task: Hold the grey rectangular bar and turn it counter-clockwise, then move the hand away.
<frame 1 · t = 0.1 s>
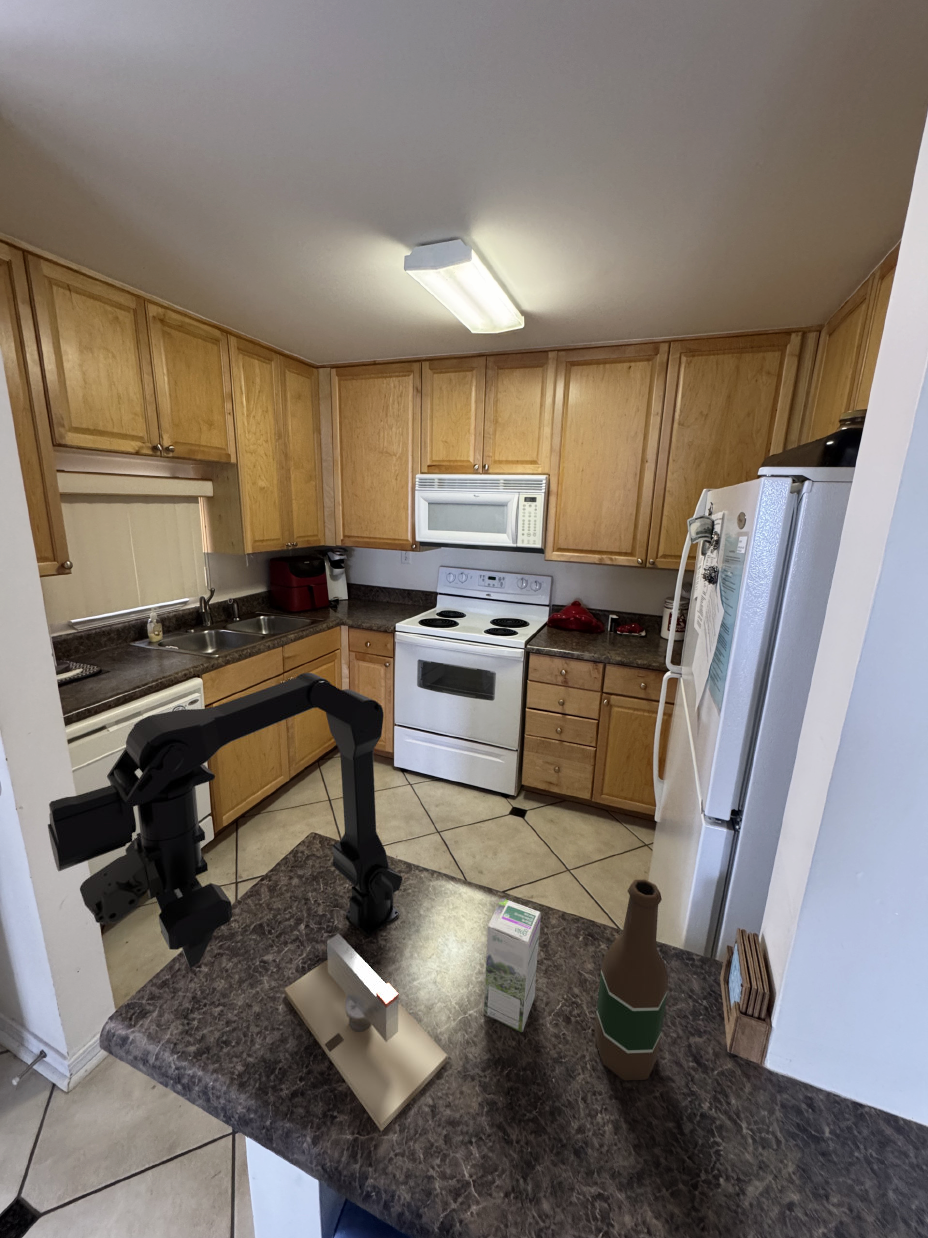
hand: (181, 940, 60), 15 cm above the countertop, fingers open, 9 cm apart
post board: (361, 1026, 65), on the countertop
beer bottle: (624, 1052, 63), on the countertop
grey rectangular bar: (360, 985, 64), point 7 cm above the countertop, hinge at 0.0°
syrup box: (509, 1008, 68), on the countertop
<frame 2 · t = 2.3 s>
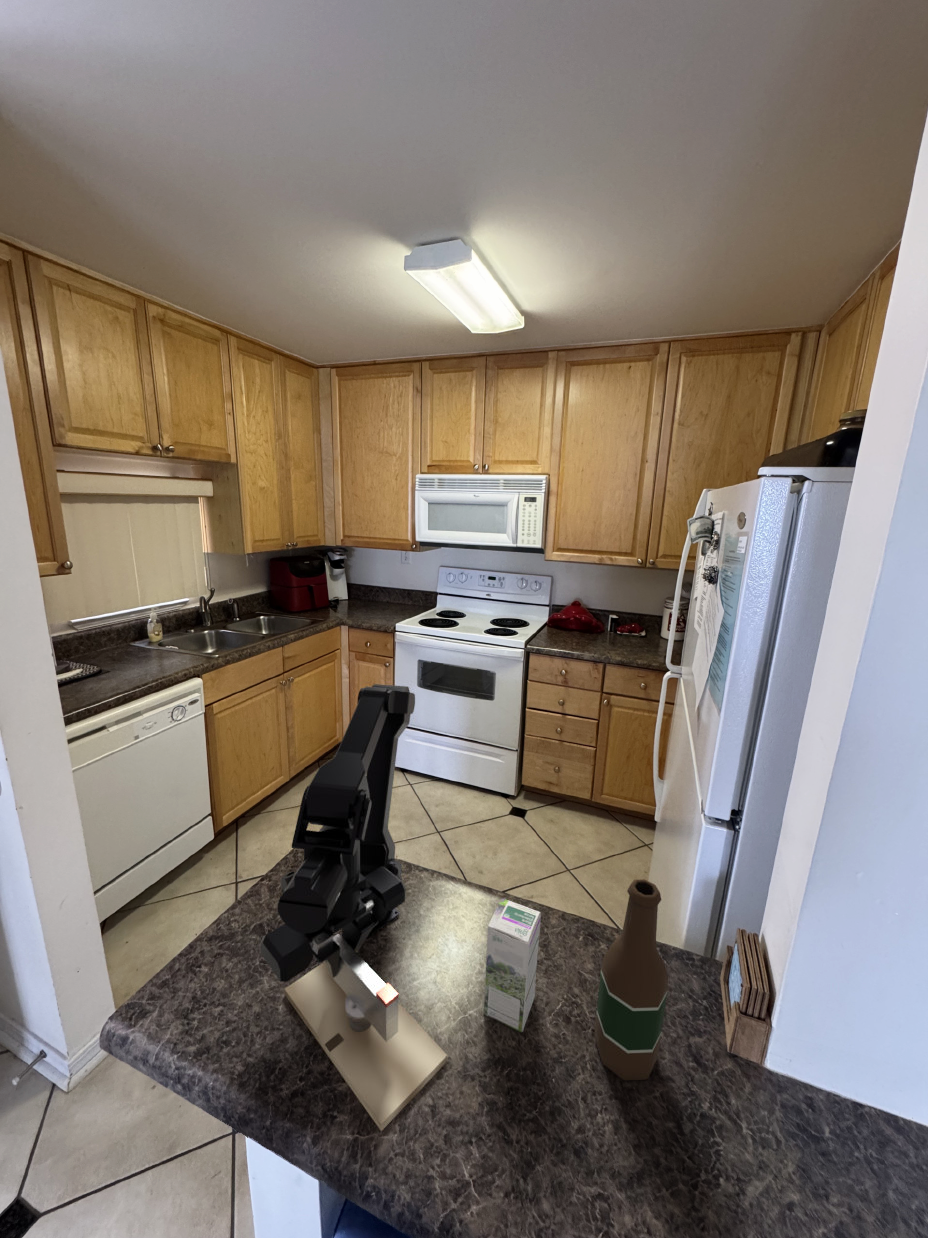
hand: (339, 970, 67), 5 cm above the countertop, fingers closed on grey rectangular bar, 2 cm apart
grey rectangular bar: (360, 985, 64), point 7 cm above the countertop, hinge at 0.0°, touching gripper
everything else where it was.
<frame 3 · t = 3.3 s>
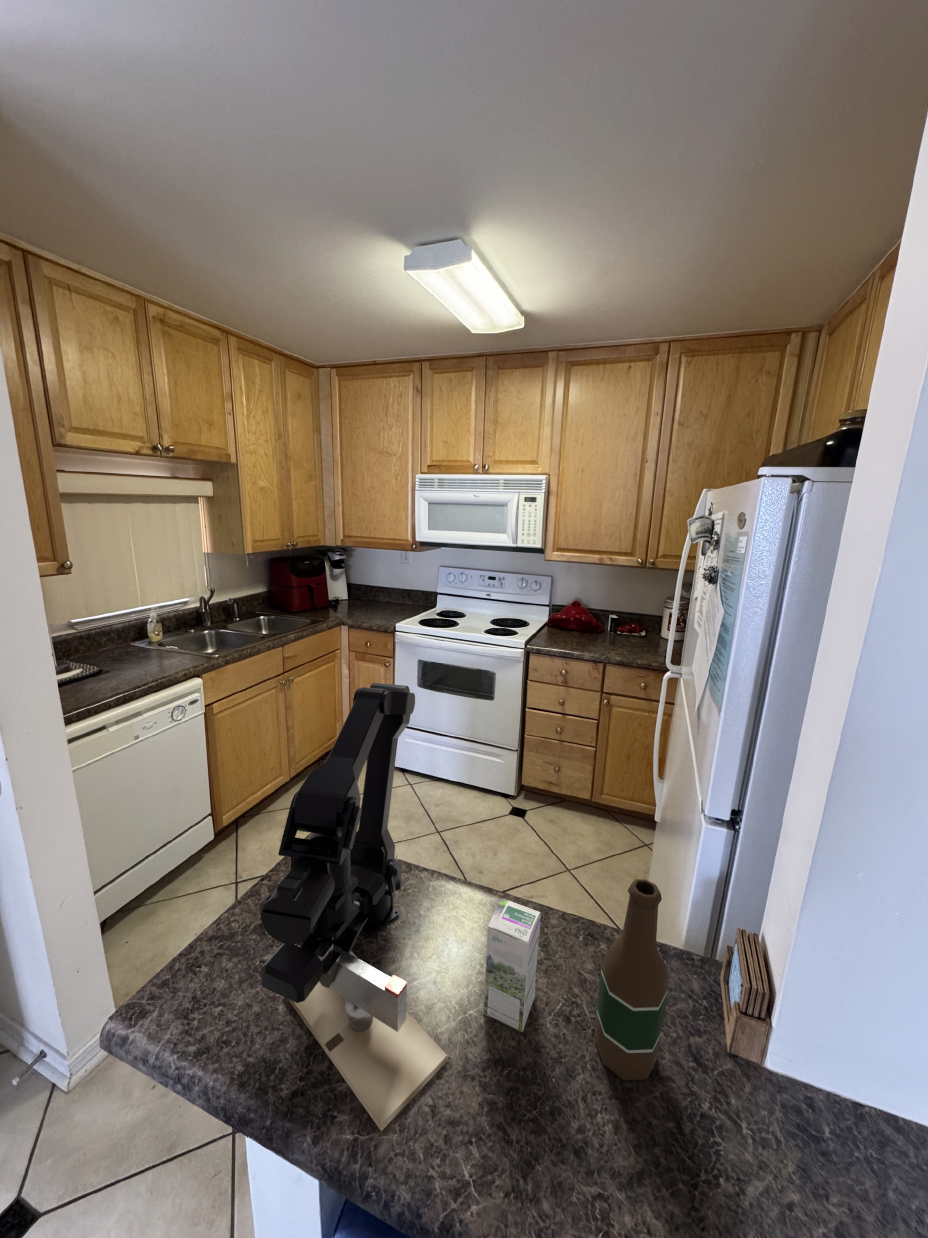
hand: (331, 978, 66), 5 cm above the countertop, fingers closed
grey rectangular bar: (360, 985, 64), point 7 cm above the countertop, hinge at 15.1°, touching gripper
everything else where it was.
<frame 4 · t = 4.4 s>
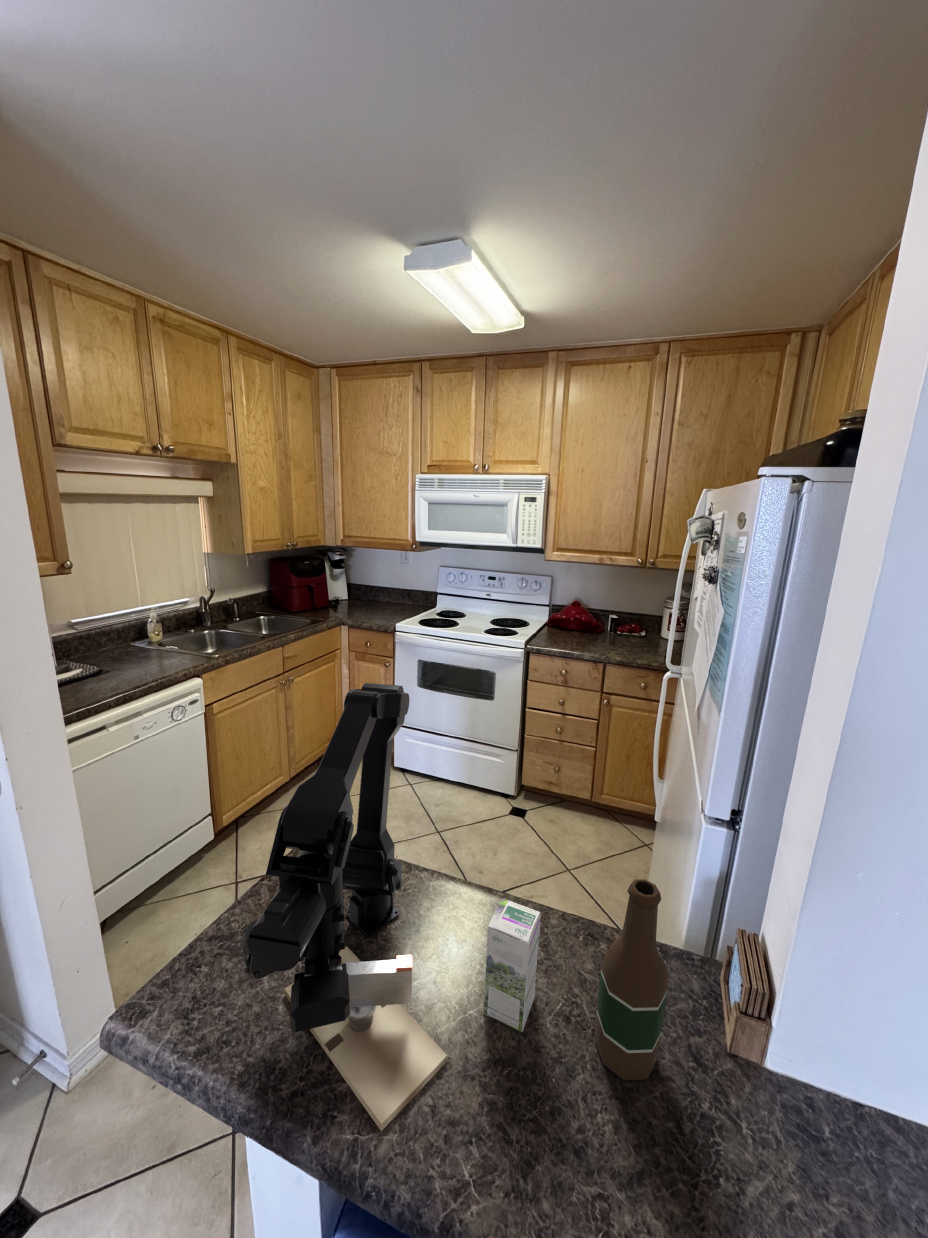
hand: (322, 999, 63), 5 cm above the countertop, fingers closed
grey rectangular bar: (360, 985, 64), point 7 cm above the countertop, hinge at 49.7°, touching gripper
everything else where it was.
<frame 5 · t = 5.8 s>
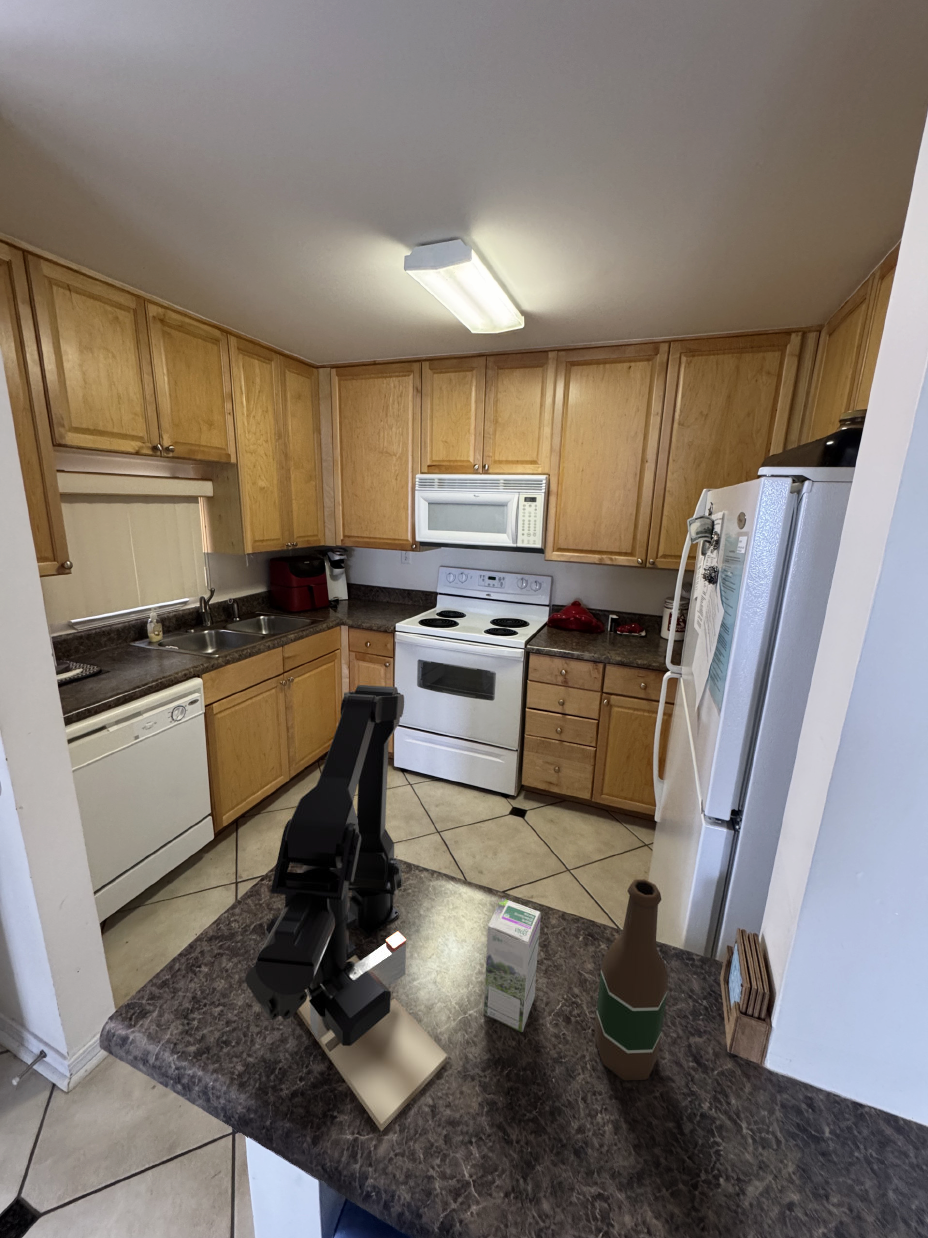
hand: (325, 1021, 61), 5 cm above the countertop, fingers closed on grey rectangular bar, 2 cm apart
grey rectangular bar: (360, 985, 64), point 6 cm above the countertop, hinge at 87.7°, touching gripper
everything else where it was.
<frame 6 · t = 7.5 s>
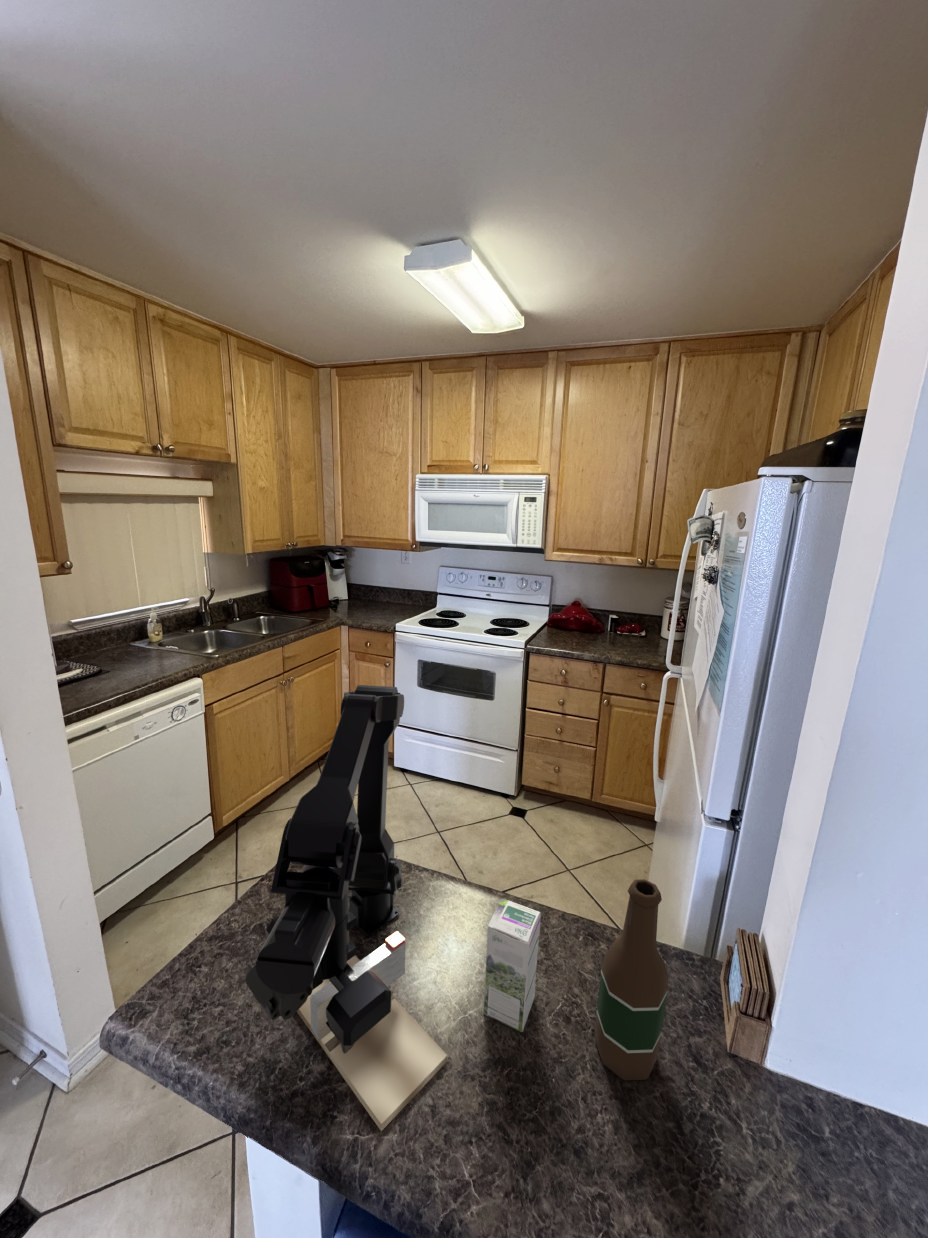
hand: (326, 1021, 60), 5 cm above the countertop, fingers open, 9 cm apart
grey rectangular bar: (360, 985, 64), point 7 cm above the countertop, hinge at 89.0°
everything else where it was.
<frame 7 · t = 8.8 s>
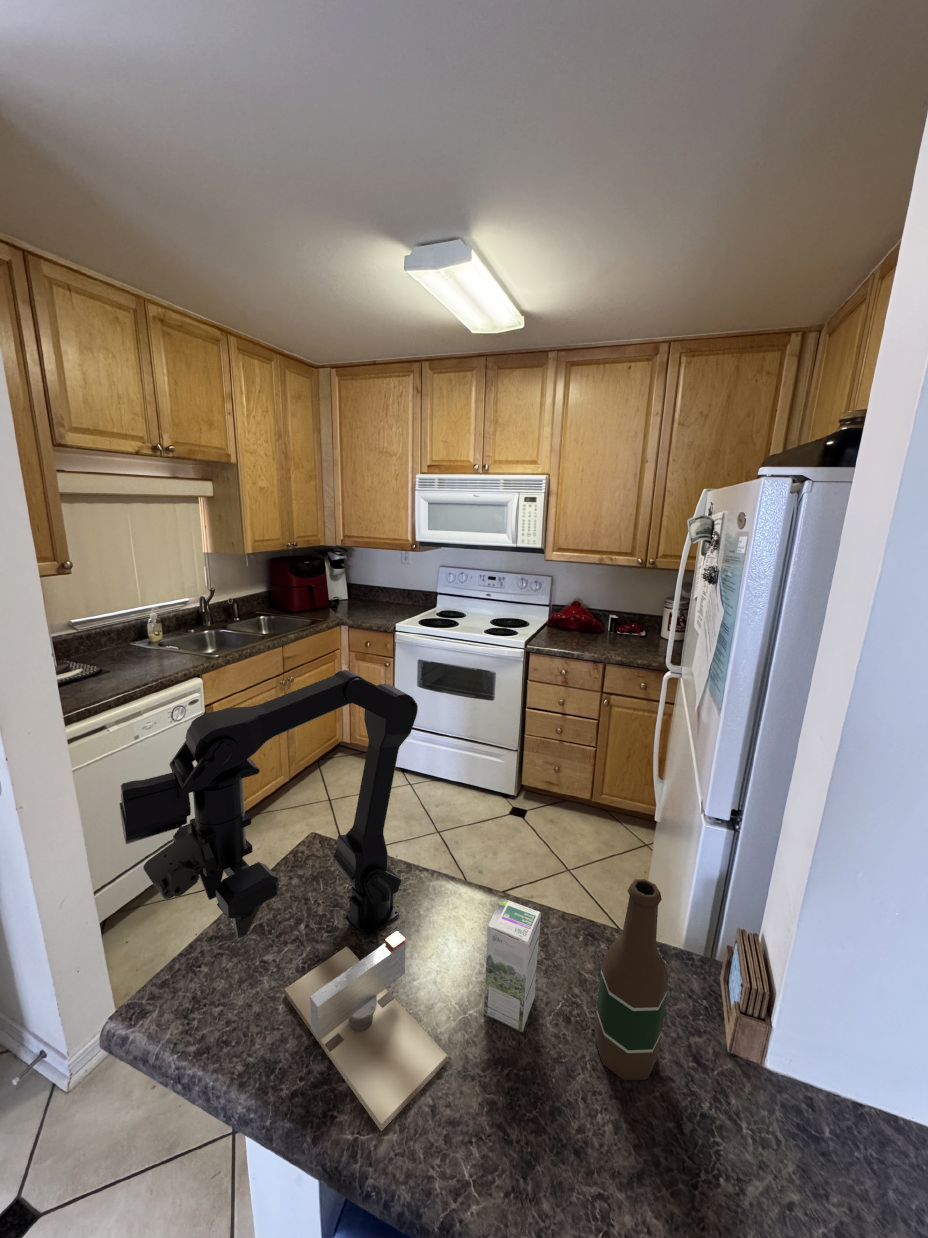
hand: (226, 916, 67), 12 cm above the countertop, fingers open, 9 cm apart
nothing on the countertop moved.
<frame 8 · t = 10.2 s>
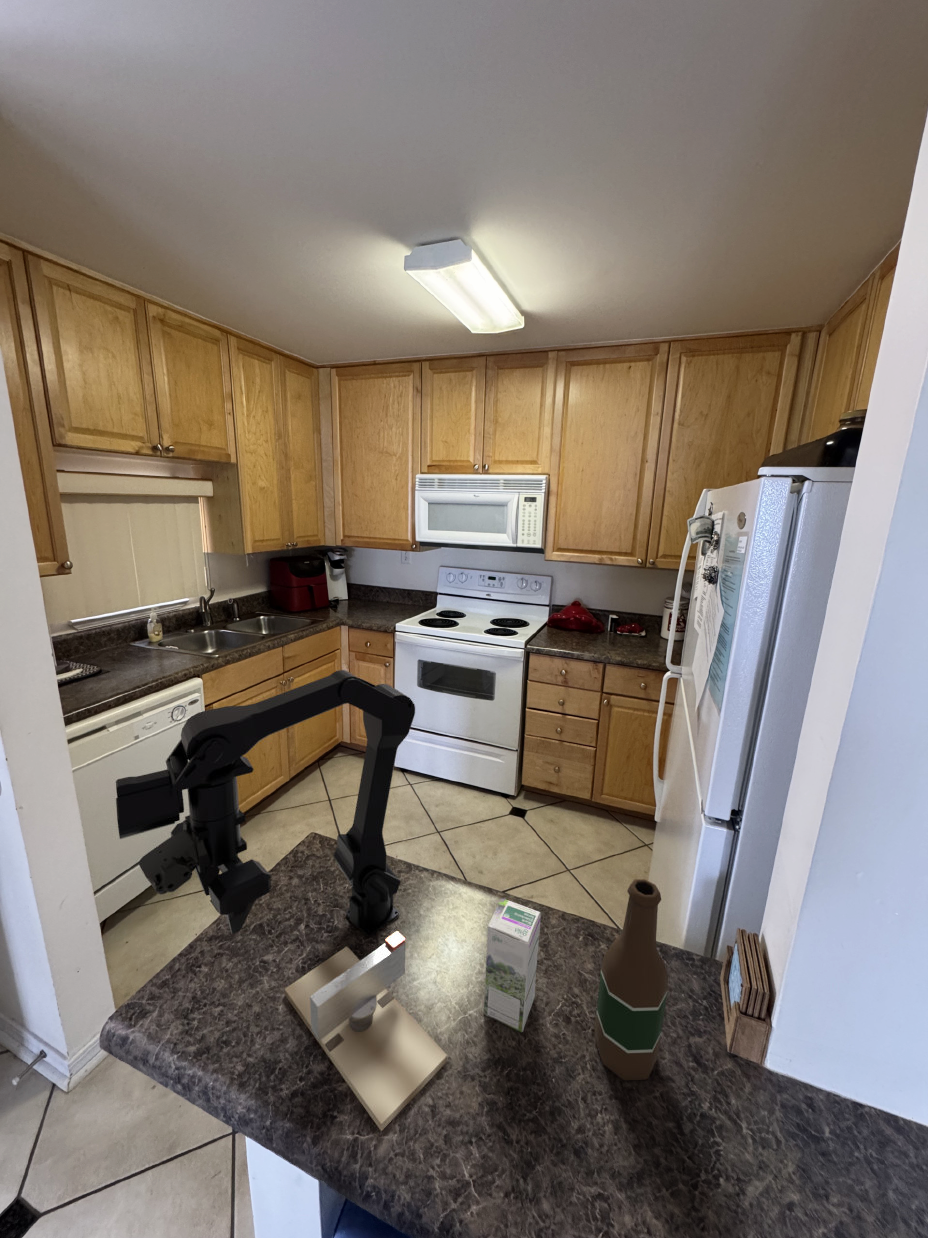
hand: (222, 912, 68), 12 cm above the countertop, fingers open, 9 cm apart
nothing on the countertop moved.
at the end: grey rectangular bar at +89° (first picture: +0°); the gripper is holding nothing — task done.
